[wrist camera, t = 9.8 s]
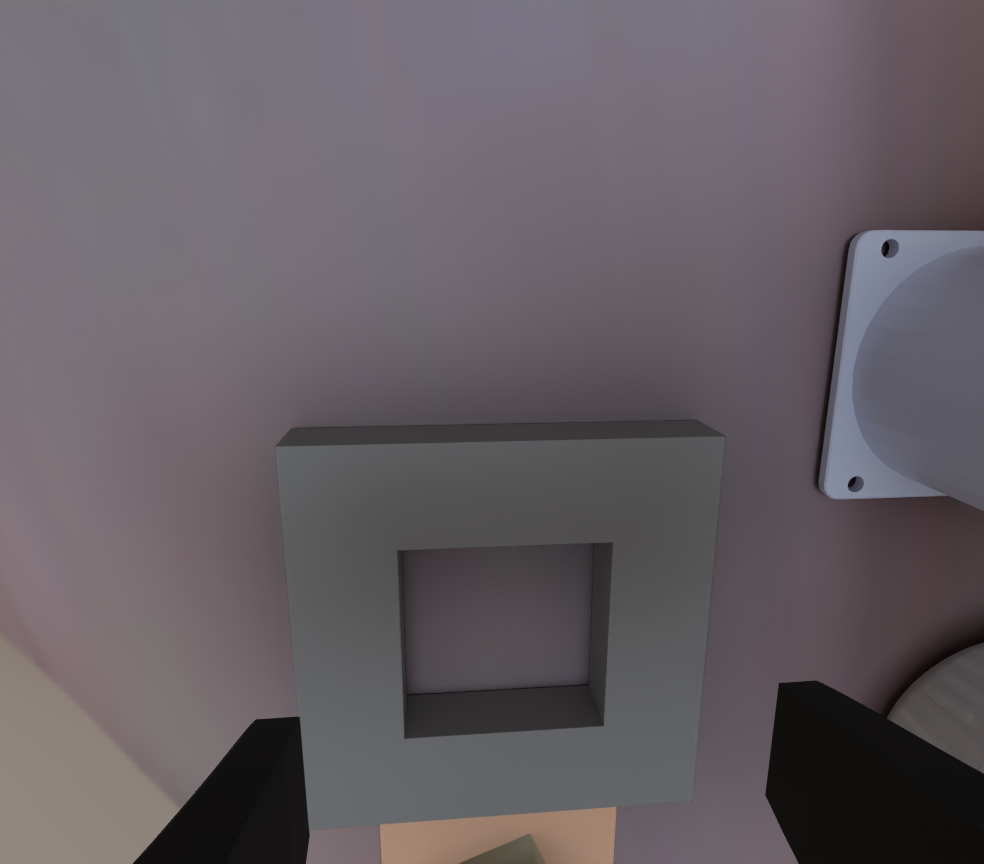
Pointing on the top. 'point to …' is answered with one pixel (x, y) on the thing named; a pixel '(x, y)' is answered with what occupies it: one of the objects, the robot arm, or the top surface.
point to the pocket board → (495, 523)
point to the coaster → (504, 837)
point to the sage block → (511, 853)
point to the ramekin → (948, 706)
